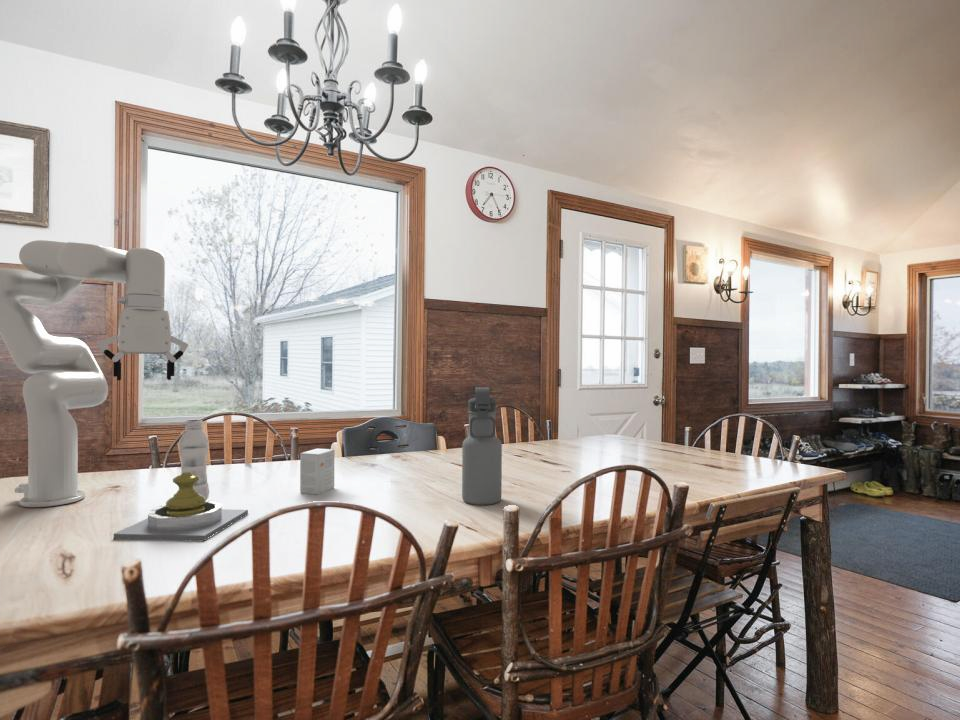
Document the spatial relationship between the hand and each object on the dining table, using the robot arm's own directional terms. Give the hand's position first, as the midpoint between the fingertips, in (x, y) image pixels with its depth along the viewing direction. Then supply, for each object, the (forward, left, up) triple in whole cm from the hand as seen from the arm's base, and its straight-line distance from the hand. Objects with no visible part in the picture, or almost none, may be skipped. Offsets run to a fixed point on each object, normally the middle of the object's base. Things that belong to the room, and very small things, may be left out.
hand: (144, 379), depth 125 cm
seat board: (+15, -9, -30) cm, 35 cm away
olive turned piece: (+15, -9, -29) cm, 34 cm away
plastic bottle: (+7, +8, -30) cm, 32 cm away
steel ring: (+15, -9, -30) cm, 35 cm away
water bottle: (+76, +15, -30) cm, 83 cm away
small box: (+32, +23, -30) cm, 50 cm away
